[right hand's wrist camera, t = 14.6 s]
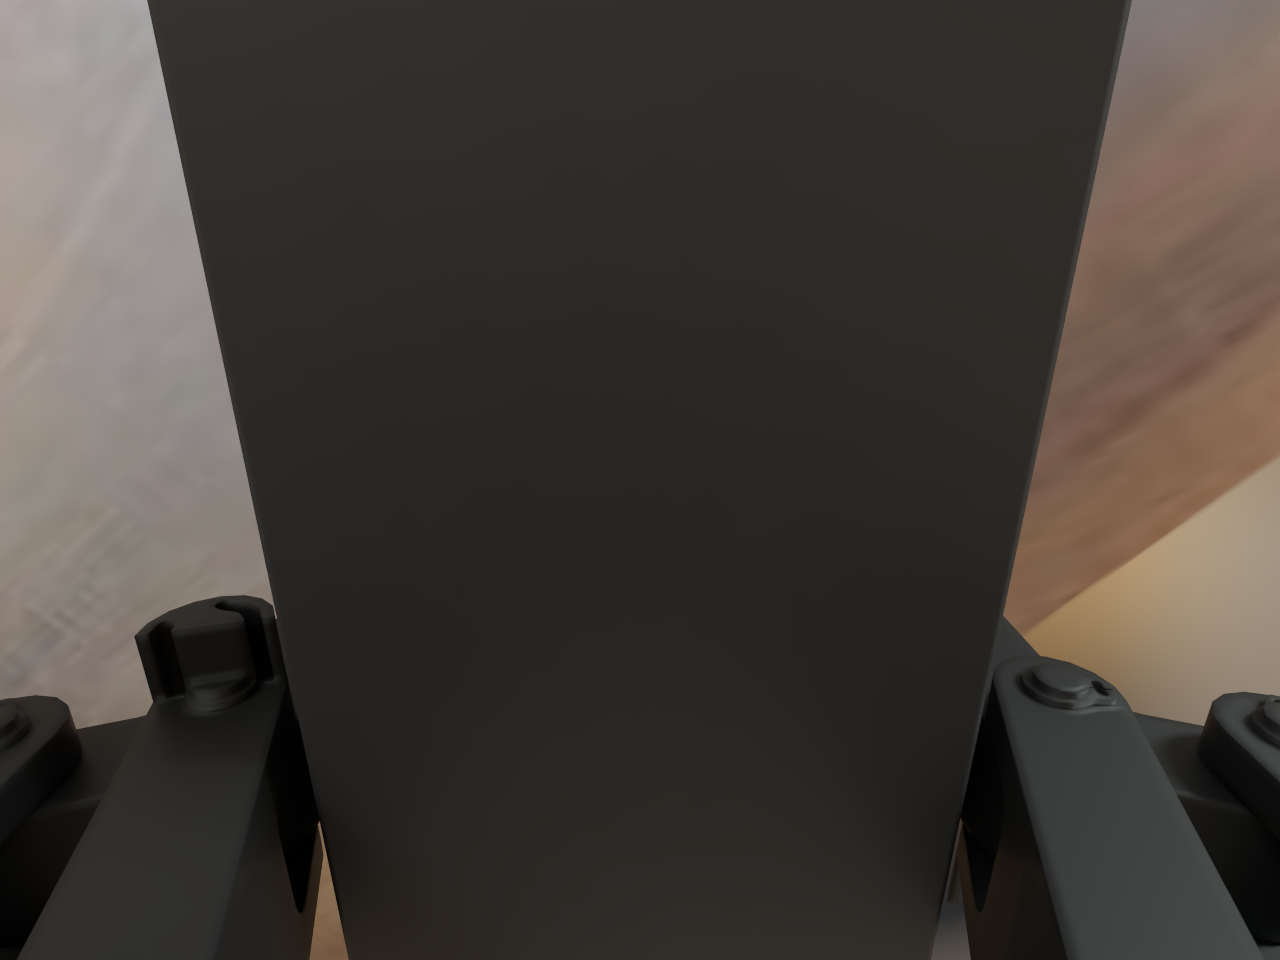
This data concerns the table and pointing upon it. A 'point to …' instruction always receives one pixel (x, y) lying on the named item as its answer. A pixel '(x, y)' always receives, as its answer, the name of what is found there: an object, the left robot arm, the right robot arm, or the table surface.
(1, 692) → the table surface
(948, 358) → the bar
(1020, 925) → the right robot arm
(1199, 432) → the table surface
